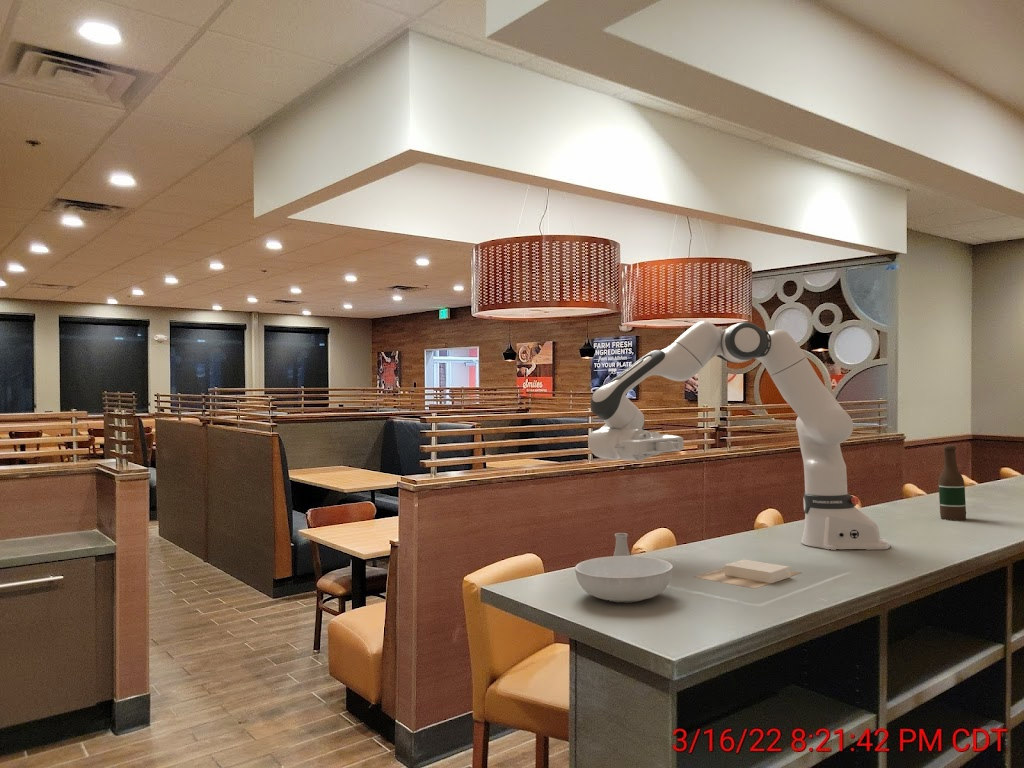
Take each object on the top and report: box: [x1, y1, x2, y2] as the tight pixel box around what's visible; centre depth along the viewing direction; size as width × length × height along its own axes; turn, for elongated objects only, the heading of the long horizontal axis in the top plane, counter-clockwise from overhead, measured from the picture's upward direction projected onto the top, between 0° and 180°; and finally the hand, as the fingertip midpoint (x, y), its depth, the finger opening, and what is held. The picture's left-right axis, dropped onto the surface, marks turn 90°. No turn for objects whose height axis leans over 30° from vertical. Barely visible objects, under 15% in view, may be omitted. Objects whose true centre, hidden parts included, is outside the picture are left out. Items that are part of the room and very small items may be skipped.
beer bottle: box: [938, 444, 967, 522], centre depth 243 cm, size 8×8×24 cm
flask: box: [613, 532, 632, 556], centre depth 179 cm, size 7×7×10 cm
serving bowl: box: [574, 555, 674, 604], centre depth 159 cm, size 21×21×7 cm
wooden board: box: [694, 567, 802, 589], centre depth 173 cm, size 16×20×1 cm
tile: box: [723, 559, 791, 584], centre depth 172 cm, size 2×8×12 cm
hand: (676, 446), depth 194 cm, fingers closed
